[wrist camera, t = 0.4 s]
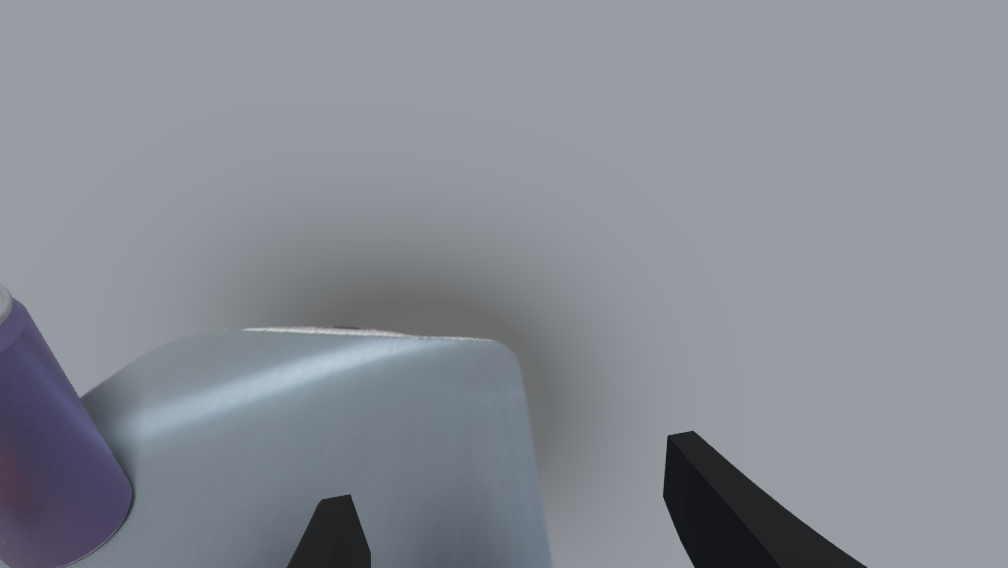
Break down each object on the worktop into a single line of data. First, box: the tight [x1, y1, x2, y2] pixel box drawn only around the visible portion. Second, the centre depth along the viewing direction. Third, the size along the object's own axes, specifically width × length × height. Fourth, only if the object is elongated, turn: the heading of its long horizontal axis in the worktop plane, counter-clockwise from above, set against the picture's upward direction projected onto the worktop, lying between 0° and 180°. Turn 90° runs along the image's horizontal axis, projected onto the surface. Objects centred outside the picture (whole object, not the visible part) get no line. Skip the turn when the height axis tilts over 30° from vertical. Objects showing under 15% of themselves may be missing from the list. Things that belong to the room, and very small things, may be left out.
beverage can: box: [0, 284, 132, 568], centre depth 25 cm, size 6×6×15 cm
